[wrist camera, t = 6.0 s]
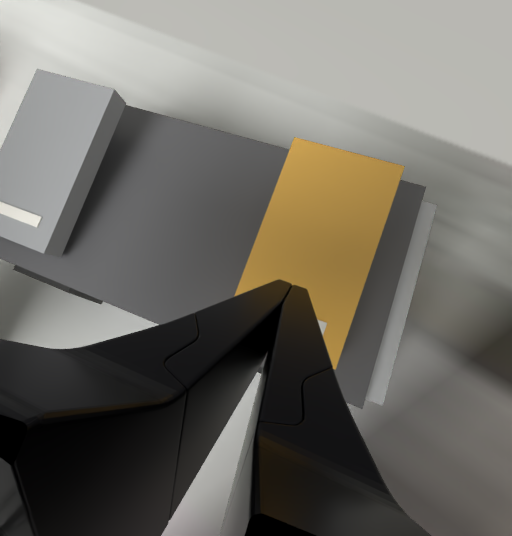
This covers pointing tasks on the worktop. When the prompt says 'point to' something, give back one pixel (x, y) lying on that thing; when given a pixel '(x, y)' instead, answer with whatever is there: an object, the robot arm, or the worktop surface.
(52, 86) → the rocker outlet
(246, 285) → the rocker outlet
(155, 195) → the grey switch box
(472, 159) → the worktop surface
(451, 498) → the worktop surface
